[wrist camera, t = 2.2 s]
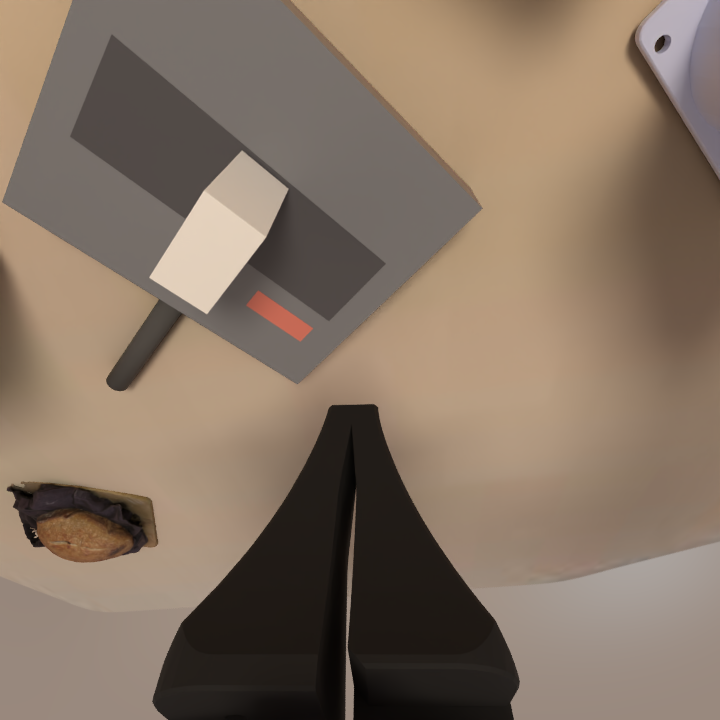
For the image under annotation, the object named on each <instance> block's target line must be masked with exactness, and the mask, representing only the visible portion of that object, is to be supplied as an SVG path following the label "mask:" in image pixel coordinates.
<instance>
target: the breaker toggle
mask: <svg viewBox="0 0 720 720" xmlns="http://www.w3.org/2000/svg"><path fill="white" fill-rule="evenodd" d="M287 191H288V188H287V187H286V186H284V185H283V184H282V183H281V182H280V181H278V180H277V179H276V178H275V177H274V176H272V175H271V174H270V173H269V172H268V171H266V170H265V169H264V168H263V167H262V166H260V165H259V164H258V163H257V162H256V161H254V160H253V159H252V158H251V157H249V156H248V155H247V154H246V153H245V152H243V151H241V152H240V153H239V154H238V155H237V156H236V157H235V158H234V159H233V160H232V162H231V163H230V164H229V165H228V166H227V167H226V168H225V169H224V170H223V171H222V172H221V173H220V174H219V175H218V176H217V177H216V178H215V179H214V180H213V181H212V183H211V184H210V185H209V186H208V187H207V188H206V189H205V190H204V191H203V193H202V194H201V196H200V198H199V199H198V201H197V202H196V204H195V206H194V207H193V209H192V210H191V212H190V213H189V215H188V217H187V218H186V220H185V221H184V223H183V225H182V226H181V228H180V229H179V231H178V233H177V234H176V236H175V237H174V239H173V240H172V242H171V244H170V245H169V247H168V248H167V250H166V252H165V253H164V255H163V256H162V258H161V260H160V261H159V263H158V264H157V266H156V267H155V269H154V271H153V272H152V274H151V275H150V277H149V278H150V279H152V280H153V281H155V282H157V283H158V284H160V285H161V286H163V287H164V288H166V289H168V290H169V291H171V292H172V293H174V294H176V295H177V296H179V297H180V298H182V299H183V300H185V301H187V302H188V303H190V304H191V305H193V306H195V307H196V308H198V309H199V310H201V311H202V312H204V313H206V314H208V312H209V311H210V310H211V308H212V307H213V306H214V304H215V303H216V302H217V301H218V299H219V298H220V297H221V295H222V294H223V293H224V291H225V290H226V289H227V288H228V286H229V285H230V284H231V282H232V281H233V280H234V278H235V277H236V276H237V275H238V273H239V272H240V271H241V269H242V268H243V267H244V265H245V264H246V263H247V262H248V260H249V259H250V258H251V256H252V255H253V254H254V252H255V251H256V250H257V249H258V247H259V246H260V245H261V243H262V242H263V241H264V239H265V238H266V237H267V234H268V232H269V230H270V228H271V226H272V224H273V222H274V219H275V217H276V215H277V213H278V211H279V209H280V206H281V204H282V202H283V200H284V198H285V196H286V194H287Z"/></svg>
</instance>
